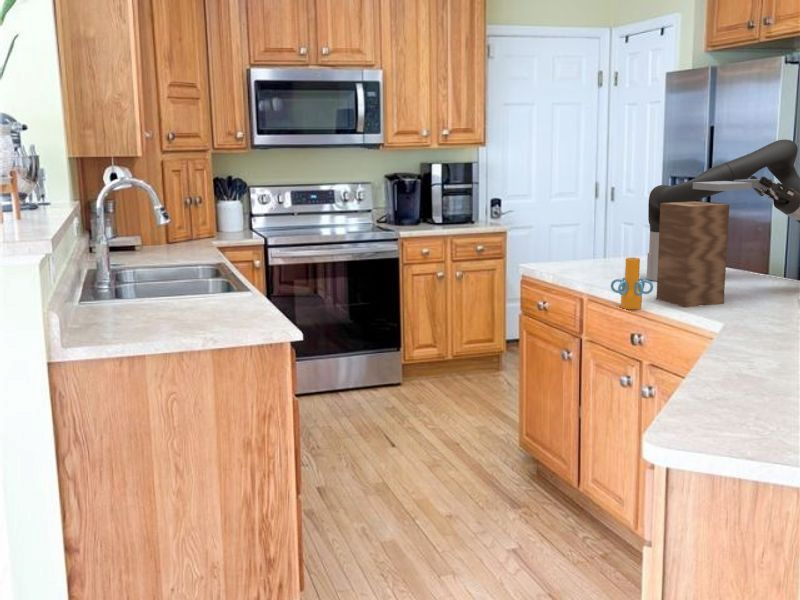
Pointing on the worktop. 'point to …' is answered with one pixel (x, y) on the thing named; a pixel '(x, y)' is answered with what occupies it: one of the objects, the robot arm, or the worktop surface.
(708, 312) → the worktop surface
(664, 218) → the post
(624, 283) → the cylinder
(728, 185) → the lid
